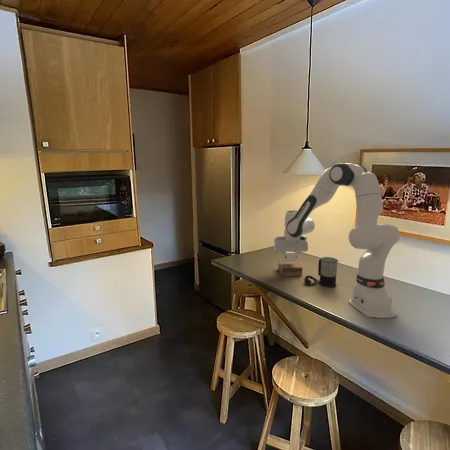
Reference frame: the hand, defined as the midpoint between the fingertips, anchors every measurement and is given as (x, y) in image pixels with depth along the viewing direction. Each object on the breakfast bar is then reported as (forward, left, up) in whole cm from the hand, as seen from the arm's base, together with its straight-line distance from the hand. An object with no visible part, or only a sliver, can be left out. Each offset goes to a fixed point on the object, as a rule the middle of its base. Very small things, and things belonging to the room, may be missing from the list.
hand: (290, 258), depth 193 cm
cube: (0, 0, -2) cm, 2 cm away
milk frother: (-19, -13, -9) cm, 25 cm away
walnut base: (0, 0, -9) cm, 9 cm away
